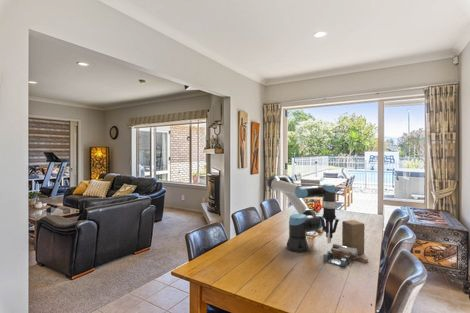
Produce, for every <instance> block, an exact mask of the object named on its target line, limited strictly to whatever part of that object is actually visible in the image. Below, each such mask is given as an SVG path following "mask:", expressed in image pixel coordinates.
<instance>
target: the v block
mask: <svg viewBox="0 0 470 313" xmlns="http://www.w3.org/2000/svg"><path fill="white" fill-rule="evenodd" d="M322 256H323V259H322V262H324V263H329V264H332V265H336V266H338V267H342V268H346V267H347V266H348V265H349V264H350V263H351V261H350V256H348V255H345V256H344V258H342V259H339V258H335V257H333V252H331V250H328V251H327V252H326V253H324V254H323V255H322Z"/></svg>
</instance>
